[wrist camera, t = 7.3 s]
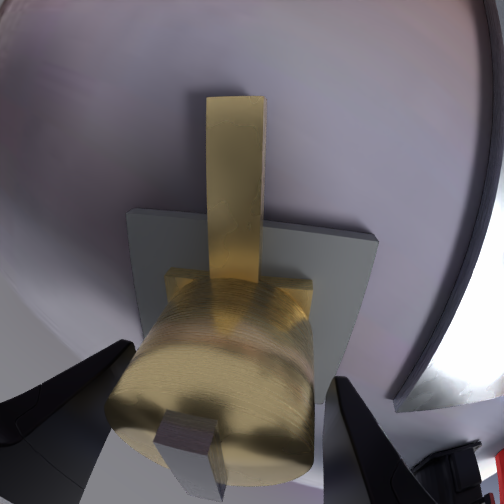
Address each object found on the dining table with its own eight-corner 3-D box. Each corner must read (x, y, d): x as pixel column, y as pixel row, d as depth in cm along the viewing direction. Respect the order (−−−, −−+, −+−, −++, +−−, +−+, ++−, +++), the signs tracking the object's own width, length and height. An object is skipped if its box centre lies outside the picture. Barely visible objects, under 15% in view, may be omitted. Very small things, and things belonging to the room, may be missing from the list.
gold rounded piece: (301, 381, 11) (293, 512, 5) (180, 365, 11) (130, 479, 6) (339, 105, 6) (455, 50, 1) (152, 105, 7) (-28, 111, 2)
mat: (322, 394, 12) (322, 404, 11) (158, 367, 12) (153, 376, 12) (373, 234, 8) (379, 241, 8) (134, 208, 9) (125, 212, 9)
